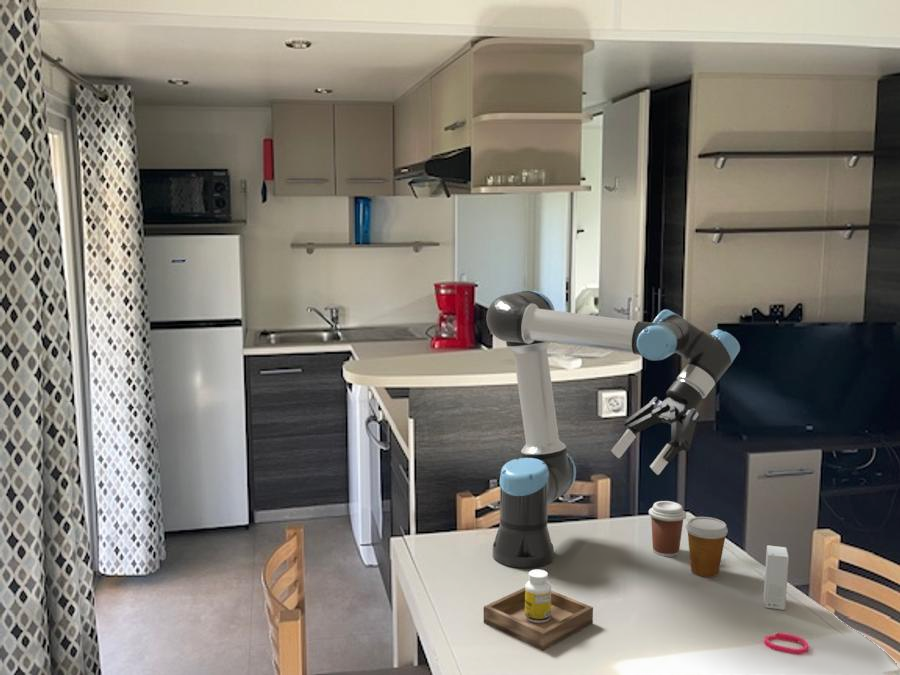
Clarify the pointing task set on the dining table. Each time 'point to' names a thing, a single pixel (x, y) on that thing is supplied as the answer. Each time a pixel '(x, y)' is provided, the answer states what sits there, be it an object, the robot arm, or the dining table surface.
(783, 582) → the skincare box
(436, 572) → the dining table surface
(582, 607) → the walnut tray
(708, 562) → the disposable coffee cup
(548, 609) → the supplement bottle
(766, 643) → the fitness band
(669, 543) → the coffee cup
